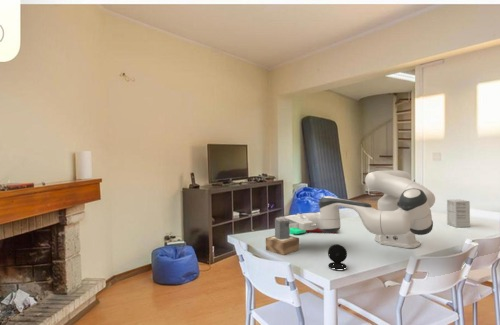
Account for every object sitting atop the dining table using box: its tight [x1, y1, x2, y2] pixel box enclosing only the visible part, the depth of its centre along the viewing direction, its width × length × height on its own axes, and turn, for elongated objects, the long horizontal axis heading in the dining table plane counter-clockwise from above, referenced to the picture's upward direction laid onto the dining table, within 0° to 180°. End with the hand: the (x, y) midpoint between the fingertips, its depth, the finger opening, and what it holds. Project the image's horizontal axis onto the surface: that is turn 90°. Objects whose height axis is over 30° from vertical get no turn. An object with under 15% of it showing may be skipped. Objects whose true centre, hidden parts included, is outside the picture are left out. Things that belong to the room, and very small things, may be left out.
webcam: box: [327, 243, 348, 269], centre depth 128 cm, size 8×8×10 cm
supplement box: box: [446, 198, 471, 228], centre depth 199 cm, size 10×9×17 cm
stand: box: [265, 235, 300, 256], centre depth 154 cm, size 12×12×6 cm
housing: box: [274, 216, 291, 240], centre depth 154 cm, size 6×6×10 cm
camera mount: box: [290, 228, 306, 235], centre depth 188 cm, size 12×8×10 cm, turn 34°
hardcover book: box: [306, 228, 339, 235], centre depth 192 cm, size 12×21×4 cm, turn 79°
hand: (284, 224), depth 155 cm, fingers open, 8 cm apart
